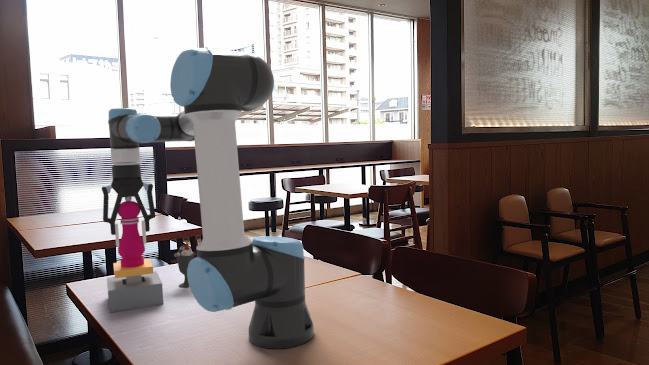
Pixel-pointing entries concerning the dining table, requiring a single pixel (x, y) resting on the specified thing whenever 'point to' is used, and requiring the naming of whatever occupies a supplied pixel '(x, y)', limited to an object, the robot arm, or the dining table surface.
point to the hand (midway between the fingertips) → (131, 244)
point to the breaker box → (134, 292)
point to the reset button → (133, 271)
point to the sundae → (184, 261)
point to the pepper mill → (130, 235)
